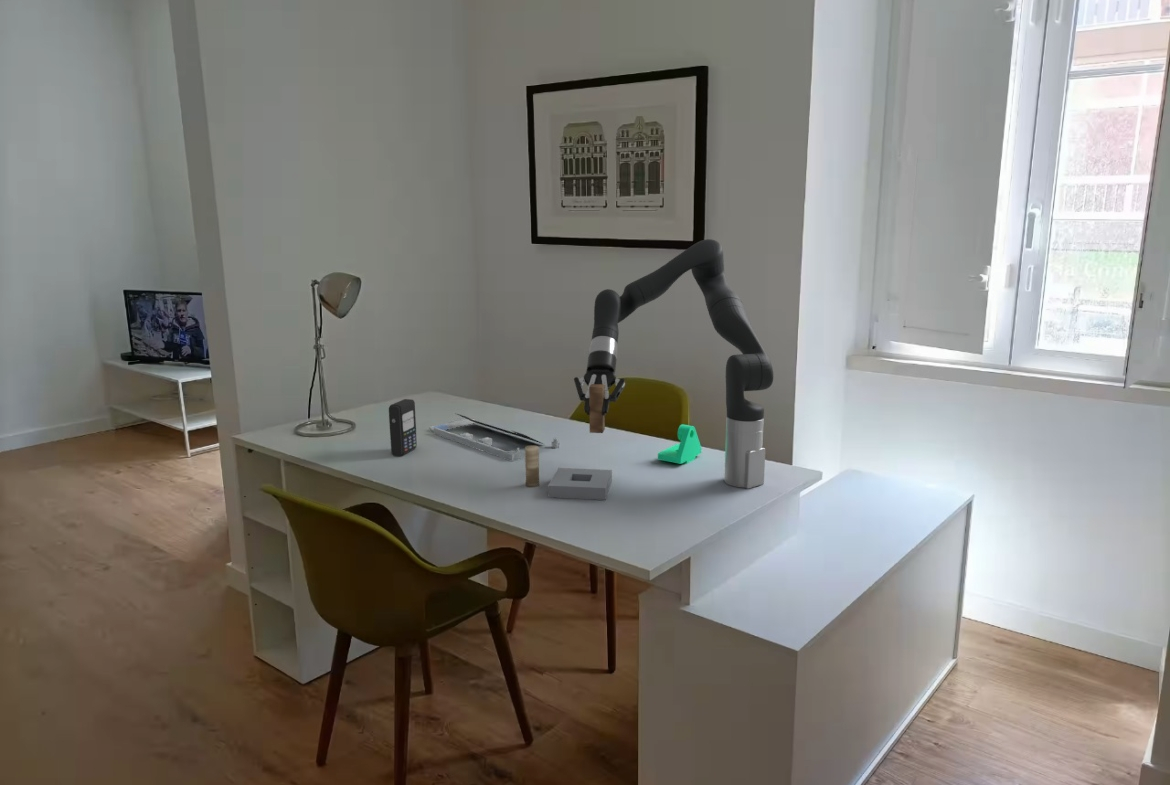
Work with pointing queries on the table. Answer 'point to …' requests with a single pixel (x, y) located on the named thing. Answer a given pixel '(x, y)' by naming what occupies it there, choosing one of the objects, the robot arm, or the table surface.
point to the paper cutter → (483, 442)
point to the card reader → (402, 427)
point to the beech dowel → (532, 465)
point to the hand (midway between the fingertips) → (595, 413)
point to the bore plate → (580, 483)
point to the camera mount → (683, 447)
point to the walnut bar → (596, 408)
